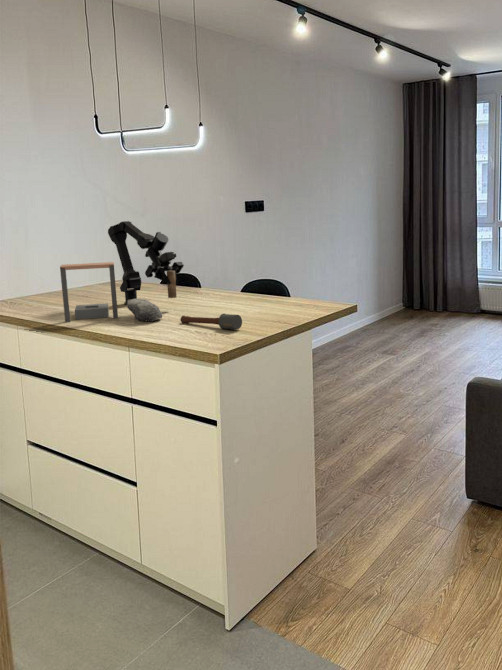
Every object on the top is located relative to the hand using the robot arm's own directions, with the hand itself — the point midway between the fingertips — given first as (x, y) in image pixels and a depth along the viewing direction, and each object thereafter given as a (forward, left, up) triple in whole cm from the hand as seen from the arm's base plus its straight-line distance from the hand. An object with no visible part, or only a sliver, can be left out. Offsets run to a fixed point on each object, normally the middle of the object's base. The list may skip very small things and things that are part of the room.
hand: (173, 283), depth 284 cm
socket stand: (+1, -37, -12) cm, 39 cm away
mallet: (+43, +9, -13) cm, 46 cm away
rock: (+19, -14, -13) cm, 27 cm away
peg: (-1, -1, -7) cm, 7 cm away
